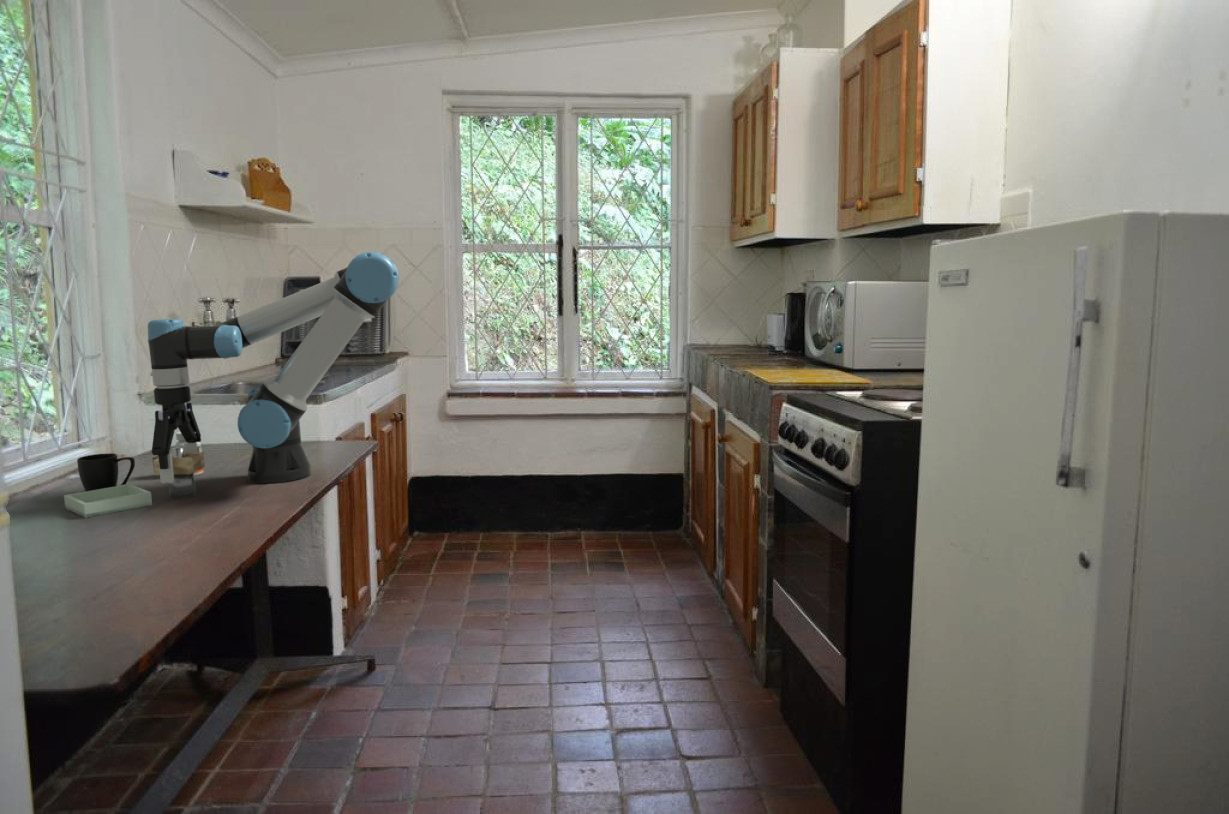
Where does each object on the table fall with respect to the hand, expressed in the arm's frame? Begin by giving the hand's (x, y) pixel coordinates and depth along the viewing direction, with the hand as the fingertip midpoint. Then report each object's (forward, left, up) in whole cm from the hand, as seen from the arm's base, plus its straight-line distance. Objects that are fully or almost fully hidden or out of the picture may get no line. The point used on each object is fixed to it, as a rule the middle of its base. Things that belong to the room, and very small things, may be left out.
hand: (180, 476), depth 207 cm
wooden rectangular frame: (0, 0, +1) cm, 1 cm away
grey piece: (0, 0, -5) cm, 5 cm away
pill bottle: (+8, -24, -5) cm, 26 cm away
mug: (+19, -4, -5) cm, 19 cm away
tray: (+13, +8, -5) cm, 16 cm away
